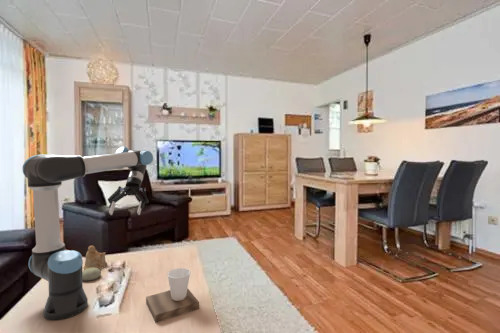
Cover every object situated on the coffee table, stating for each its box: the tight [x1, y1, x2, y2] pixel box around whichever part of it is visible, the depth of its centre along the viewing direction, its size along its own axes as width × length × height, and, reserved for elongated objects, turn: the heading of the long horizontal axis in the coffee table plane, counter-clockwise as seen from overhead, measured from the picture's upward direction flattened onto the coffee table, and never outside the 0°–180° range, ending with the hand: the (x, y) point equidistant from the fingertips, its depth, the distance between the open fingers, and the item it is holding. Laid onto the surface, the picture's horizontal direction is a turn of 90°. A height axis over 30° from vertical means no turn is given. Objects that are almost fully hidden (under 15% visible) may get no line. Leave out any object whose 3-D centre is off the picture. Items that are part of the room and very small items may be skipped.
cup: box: [166, 267, 191, 301], centre depth 116 cm, size 10×10×11 cm
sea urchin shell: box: [82, 268, 102, 282], centre depth 140 cm, size 9×8×8 cm
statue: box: [83, 245, 108, 271], centre depth 154 cm, size 12×14×10 cm
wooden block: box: [145, 287, 200, 324], centre depth 115 cm, size 18×16×3 cm
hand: (124, 213), depth 134 cm, fingers open, 13 cm apart
